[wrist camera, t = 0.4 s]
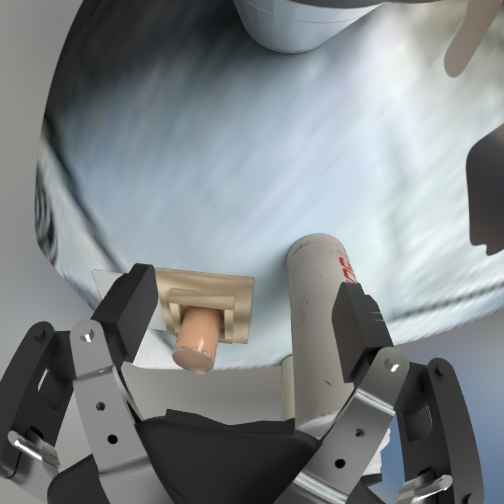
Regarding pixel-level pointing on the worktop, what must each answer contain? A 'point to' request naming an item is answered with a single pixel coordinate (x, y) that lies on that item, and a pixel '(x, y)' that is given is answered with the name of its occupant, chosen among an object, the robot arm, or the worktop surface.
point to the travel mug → (288, 390)
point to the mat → (106, 281)
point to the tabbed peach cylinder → (198, 339)
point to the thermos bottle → (320, 337)
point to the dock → (206, 300)
